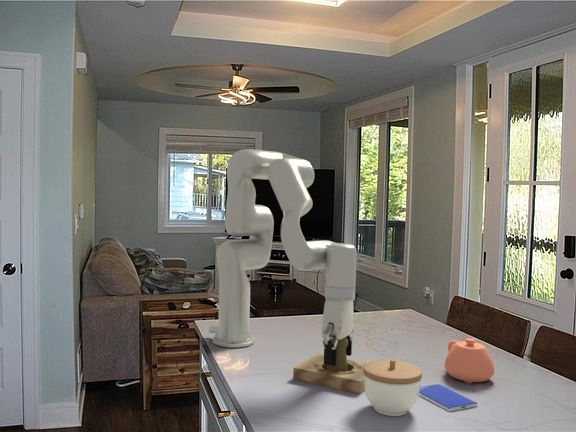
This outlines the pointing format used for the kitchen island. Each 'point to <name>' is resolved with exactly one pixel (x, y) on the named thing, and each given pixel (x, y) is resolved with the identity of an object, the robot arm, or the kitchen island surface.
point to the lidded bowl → (392, 386)
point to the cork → (340, 357)
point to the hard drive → (446, 397)
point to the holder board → (331, 374)
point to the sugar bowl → (469, 361)
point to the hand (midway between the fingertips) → (337, 359)
